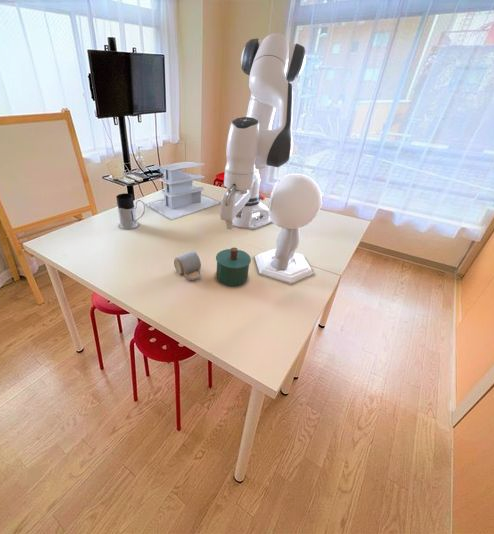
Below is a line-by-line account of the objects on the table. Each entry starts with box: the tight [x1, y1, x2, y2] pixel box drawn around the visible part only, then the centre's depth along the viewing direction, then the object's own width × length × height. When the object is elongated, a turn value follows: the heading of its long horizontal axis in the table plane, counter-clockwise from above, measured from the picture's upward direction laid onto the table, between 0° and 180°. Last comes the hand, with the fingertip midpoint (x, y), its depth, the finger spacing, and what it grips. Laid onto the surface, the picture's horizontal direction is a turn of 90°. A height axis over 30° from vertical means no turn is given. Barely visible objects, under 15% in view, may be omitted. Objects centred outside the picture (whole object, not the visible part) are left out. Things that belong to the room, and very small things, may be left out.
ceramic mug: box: [173, 250, 202, 282], centre depth 100 cm, size 11×8×8 cm
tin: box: [215, 261, 250, 288], centre depth 98 cm, size 11×11×8 cm
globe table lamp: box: [254, 172, 323, 285], centre depth 96 cm, size 20×23×35 cm
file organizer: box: [146, 161, 221, 220], centre depth 152 cm, size 26×35×22 cm
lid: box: [215, 247, 252, 269], centre depth 95 cm, size 12×12×5 cm
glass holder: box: [115, 192, 146, 230], centre depth 131 cm, size 9×14×15 cm, turn 74°
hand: (234, 222), depth 89 cm, fingers open, 8 cm apart
